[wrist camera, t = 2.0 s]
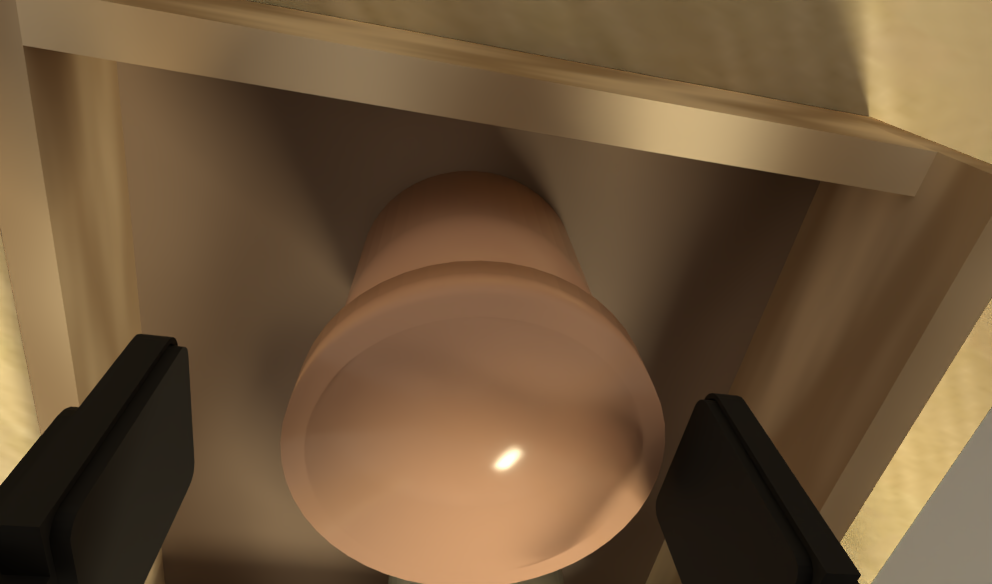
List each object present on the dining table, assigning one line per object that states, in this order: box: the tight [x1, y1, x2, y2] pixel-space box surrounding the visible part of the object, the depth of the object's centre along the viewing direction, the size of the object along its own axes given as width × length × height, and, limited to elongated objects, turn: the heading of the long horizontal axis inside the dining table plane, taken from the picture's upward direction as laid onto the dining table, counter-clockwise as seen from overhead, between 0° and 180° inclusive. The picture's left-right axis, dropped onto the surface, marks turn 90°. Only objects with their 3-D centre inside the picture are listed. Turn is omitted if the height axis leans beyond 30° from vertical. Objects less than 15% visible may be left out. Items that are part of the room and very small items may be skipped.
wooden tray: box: [0, 0, 992, 584], centre depth 18 cm, size 20×22×6 cm
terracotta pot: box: [280, 171, 665, 584], centre depth 15 cm, size 7×7×8 cm
